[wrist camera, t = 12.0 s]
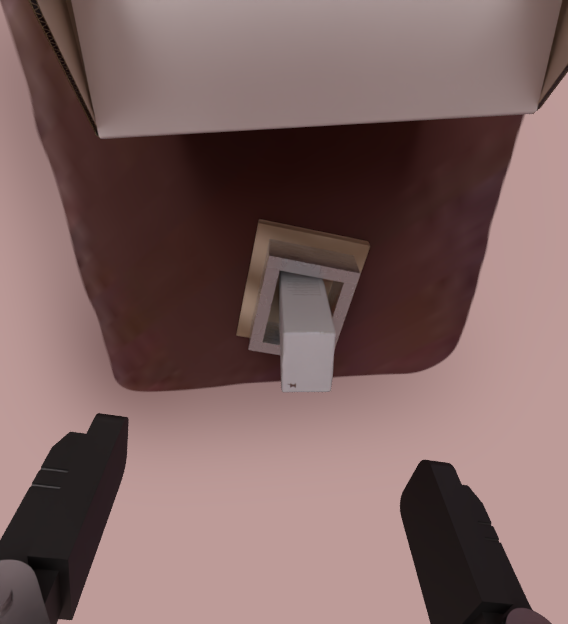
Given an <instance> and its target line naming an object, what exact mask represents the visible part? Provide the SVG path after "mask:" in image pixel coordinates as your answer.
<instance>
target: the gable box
mask: <svg viewBox="0 0 568 624" xmlns="http://www.w3.org/2000/svg"><path fill="white" fill-rule="evenodd" d="M29 3H30V5H31V7H32V9H33V12H34V14H35V16H36V18H37V20H38V22H39V24H40V26H41V28H42V30H43V32H44V34H45V36H46V38H47V40H48V42H49V44H50V45H51V47H52V49H53V51H54V53H55V55H56V57H57V59H58V61H59V63H60V65H61V67H62V69H63V71H64V73H65V75H66V77H67V79H68V81H69V83H70V85H71V87H72V89H73V91H74V93H75V95H76V97H77V99H78V101H79V103H80V105H81V107H82V109H83V111H84V113H85V114H86V116H87V118H88V120H89V122H90V124H91V126H92V128H93V130H94V132H95V134H96V135H97V136H98V137H99V138H101V139H109V138H126V137H143V136H160V135H177V134H194V133H211V132H228V131H246V130H263V129H280V128H297V127H314V126H331V125H348V124H365V123H382V122H400V121H417V120H434V119H451V118H468V117H485V116H502V115H519V114H534V113H535V112H536V111H537V110H538V109H540V107H541V106H542V105H543V104H544V102H545V101H546V100H547V98H548V97H549V96H550V95H551V93H552V92H553V90H554V89H555V88H556V87H557V85H558V84H559V83H560V81H561V80H562V79H563V77H564V76H565V75H566V73H567V72H568V0H29Z"/></svg>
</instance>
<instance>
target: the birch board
mask: <svg viewBox="0 0 568 624" xmlns="http://www.w3.org/2000/svg"><path fill="white" fill-rule="evenodd" d="M269 239H274V240H279V241H284V242H289V243H294V244H299V245H304V246H309V247H314V248H319V249H324V250H329V251H334V252H339V253H344V254H349V255H354V258H355V261H356V263H357V266H358V268H359V271H360V273H361V271H362V269H363V266H364V263H365V260H366V257H367V254H368V251H369V248H370V244H369V242H368V241H364V240H359V239H355V238H350V237H345V236H340V235H335V234H330V233H325V232H321V231H316V230H311V229H306V228H301V227H296V226H291V225H287V224H282V223H277V222H272V221H267V220H262V219H259V221H258V226H257V232H256V237H255V242H254V247H253V252H252V257H251V262H250V267H249V272H248V277H247V282H246V287H245V292H244V297H243V302H242V307H241V312H240V317H239V322H238V327H237V334H236V336H242V337H248V338H249V336H250V326H251V322H252V317H253V313H254V308H255V303H256V299H257V294H258V289H259V285H260V280H261V276H262V271H263V266H264V262H265V257H266V252H267V248H268V243H269ZM279 276H280V271H279V275H278V279H277V283H276V288H275V292H274V296H273V300H272V304H271V309H270V313H269V317H268V321H269V322H275V323H279ZM323 281H324V285H325V289H326V293H327V298H328V296H329V292H330V289H331V286H332V283H333V280H327V279H323ZM357 283H358V282H357ZM356 286H357V285H356ZM355 289H356V288H355ZM354 292H355V291H354ZM349 306H350V305H349ZM348 309H349V308H348ZM347 312H348V311H347ZM346 315H347V314H346ZM345 318H346V317H345ZM340 332H341V331H340ZM339 335H340V334H339ZM338 338H339V337H338ZM337 341H338V340H337Z"/></svg>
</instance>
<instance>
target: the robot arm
mask: <svg viewBox="0 0 568 624" xmlns="http://www.w3.org/2000/svg"><path fill="white" fill-rule="evenodd" d="M127 439H128V418H127V417H122V416H115V415H108V414H100V413H98V414H97V415H96V416H95V418H94V420H93V422H92V424H91V426H90V428H89V430H88V432H87V434H84V433H76V432H69V433H68V434H67V435H66V436H65V437H63V438H62V439H61V440H60V441H59V442H58V443H56V444H55V445H54V446H53V447H52V448H51V450H50V452H49V454H48V456H47V457H46V459H45V461H44V463H43V465H42V466H41V470H40V471H39V472H38V473H37V475H36V477H35V479H34V481H33V482H32V486H31V487H30V488H29V490H28V491H27V493H26V495H25V497H24V499H23V500H22V502H21V504H20V506H19V508H18V509H17V511H16V513H15V515H14V516H13V518H12V520H11V522H10V524H9V525H8V527H7V529H6V531H5V533H4V535H3V536H2V538H1V540H0V624H57V621H58V619H66V620H72V619H73V616H74V613H75V610H76V607H77V605H78V602H79V599H80V596H81V593H82V590H83V588H84V585H85V582H86V579H87V577H88V574H89V571H90V568H91V565H92V562H93V560H94V557H95V554H96V551H97V548H98V545H99V543H100V540H101V537H102V534H103V531H104V528H105V526H106V523H107V520H108V517H109V514H110V511H111V509H112V506H113V503H114V500H115V497H116V494H117V492H118V489H119V486H120V483H121V480H122V477H123V473H124V469H125V464H126V458H127ZM400 512H401V517H402V521H403V525H404V528H405V532H406V535H407V539H408V543H409V547H410V550H411V554H412V557H413V561H414V565H415V568H416V572H417V576H418V579H419V583H420V587H421V590H422V594H423V598H424V601H425V605H426V609H427V612H428V616H429V619H430V623H431V624H551V623H550V622H549V621H548V620H547V619H546V618H545V617H543V616H542V615H540V614H538V613H537V612H535V611H533V610H532V608H531V607H530V605H529V603H528V601H527V599H526V596H525V594H524V592H523V590H522V588H521V585H520V583H519V581H518V579H517V577H516V575H515V573H514V571H513V568H512V566H511V564H510V562H509V560H508V557H507V556H506V553H505V551H504V549H503V547H502V544H501V543H499V541H498V540H499V538H498V536H497V534H496V531H495V529H494V527H493V526H491V521H490V518H489V517H488V514H487V512H486V510H485V508H484V506H483V503H482V502H481V501H480V500H479V498H478V497H477V496H476V495H475V494H474V492H473V491H472V490H471V489H470V488H469V486H467V485H462V484H461V482H460V480H459V477H458V475H457V473H456V470H455V468H454V467H453V466H452V465H451V464H450V463H445V462H438V461H430V460H422V461H421V462H420V463H419V464H418V466H417V468H416V470H415V471H414V473H413V475H412V477H411V479H410V480H409V482H408V484H407V485H406V487H405V489H404V491H403V493H402V496H401V500H400Z"/></svg>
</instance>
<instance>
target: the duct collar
mask: <svg viewBox="0 0 568 624" xmlns="http://www.w3.org/2000/svg"><path fill="white" fill-rule="evenodd" d="M279 271H286V272H291V273H296V274H301V275H306V276H312V277H317V278H322V279H327V280H333V283H332V286H331V289H330V292H329V296H328V302H329V306H330V311H331V315H332V319H333V324H334V328H335V332H336V337H335V346H336V343H337V340H338V337H339V334H340V331H341V329H342V326H343V323H344V320H345V317H346V314H347V311H348V308H349V305H350V303H351V300H352V297H353V294H354V291H355V288H356V285H357V282H358V280H359V277H360V274H361V273H360V271H359V268H358V266H357V263H356V261H355V258H354V255H349V254H344V253H339V252H334V251H329V250H324V249H319V248H314V247H309V246H304V245H299V244H294V243H289V242H284V241H279V240H274V239H269V243H268V248H267V252H266V257H265V262H264V266H263V271H262V276H261V280H260V285H259V289H258V294H257V299H256V303H255V308H254V313H253V317H252V322H251V326H250V336H249V348H248V350H252V351H258V352H264V353H270V354H276V355H280V332H279V323H275V322H269V321H268V317H269V313H270V309H271V304H272V300H273V296H274V292H275V288H276V283H277V279H278V275H279Z"/></svg>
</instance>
